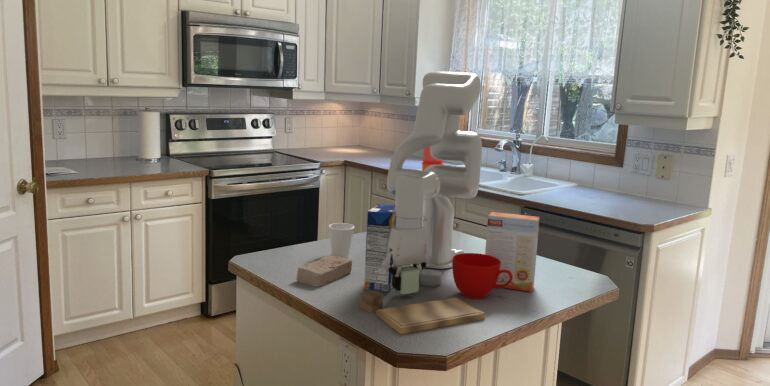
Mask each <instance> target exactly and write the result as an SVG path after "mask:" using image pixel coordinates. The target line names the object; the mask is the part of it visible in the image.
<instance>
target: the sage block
mask: <svg viewBox="0 0 770 386" xmlns="http://www.w3.org/2000/svg"><path fill="white" fill-rule="evenodd" d="M419 272H420V270H418V269H417V268H415V267H413V265H405V266H402V268H401V271H400V275H399V276H400V277H401V288H400V291H397V292H398V293H399V294H401V295H407V294H412V293H413V294H414V293H419V288H420V284H419Z"/></svg>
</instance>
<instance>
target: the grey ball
mask: <svg viewBox="0 0 770 386" xmlns="http://www.w3.org/2000/svg"><path fill="white" fill-rule="evenodd" d="M442 280H443V273H442V272H441V271H440V270H438V269H432V268H428V269H427V268H426V269H425V268H424V269H423V270H422V273H421V274H420V283H419V286H423V287H430V288H431V287H432V288H434V287H439V286H441V285H442Z"/></svg>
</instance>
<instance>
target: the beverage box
mask: <svg viewBox="0 0 770 386" xmlns="http://www.w3.org/2000/svg"><path fill="white" fill-rule="evenodd" d="M366 217H367V218H366V219H367V221H366V239H365V240H366V241H365V243H366V244H365V262H364V263H365V265H364V266H365V267H364V287H363V289H364V290H367V291H371V290H372V291H373V290H374V291H375V292H379V293H390V291H391V290H392V289H394V288H393V286H392V274H391V273H390V272H389V271H388V270H387V269H386V268H385V267H383V266H382V262H383V261H384V260H385V258H386V257H387V245H388V239H389V234H390V230H391V227H392V226H394V221H395V204H394V205H393V204H382V203H378V204H377V205H375V206H374V207H372V208H370V209H369V210H367V215H366ZM392 265H393V262H390V266H391V267H392Z"/></svg>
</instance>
